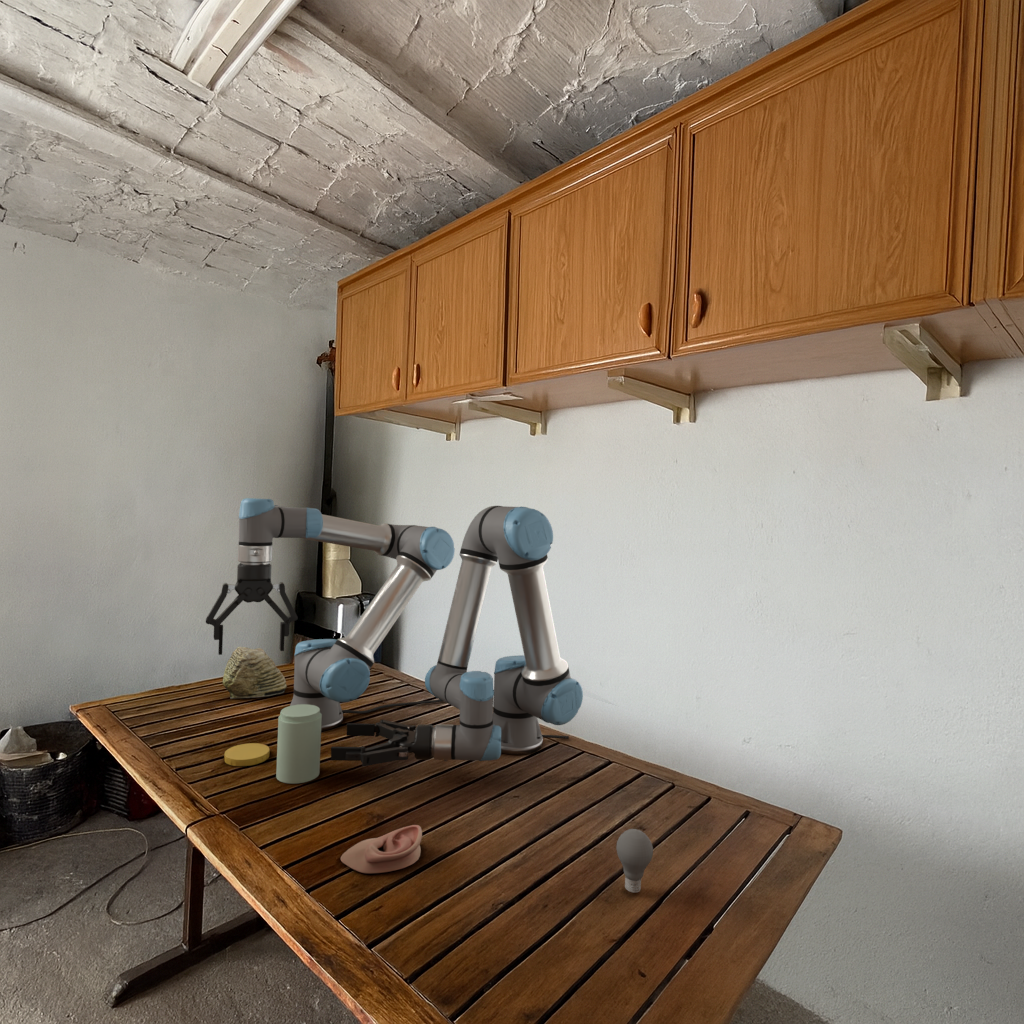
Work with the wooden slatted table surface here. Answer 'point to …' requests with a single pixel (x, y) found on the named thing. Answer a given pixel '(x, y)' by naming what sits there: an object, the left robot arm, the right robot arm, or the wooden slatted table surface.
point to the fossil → (252, 674)
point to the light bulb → (634, 857)
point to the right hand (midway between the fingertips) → (339, 740)
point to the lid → (246, 754)
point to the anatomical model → (385, 851)
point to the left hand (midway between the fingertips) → (251, 651)
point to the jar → (298, 744)
